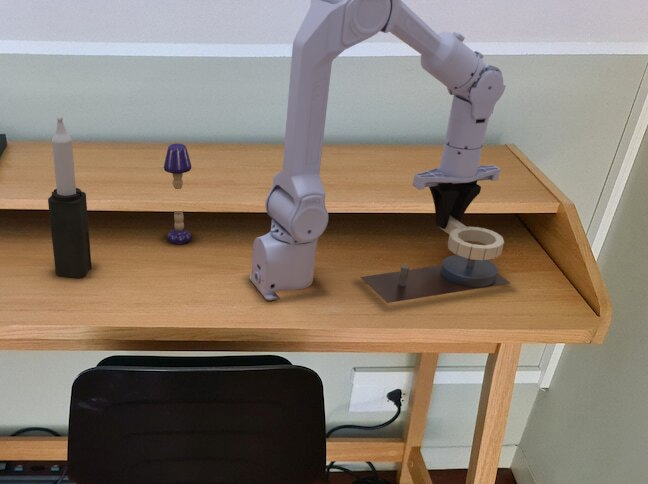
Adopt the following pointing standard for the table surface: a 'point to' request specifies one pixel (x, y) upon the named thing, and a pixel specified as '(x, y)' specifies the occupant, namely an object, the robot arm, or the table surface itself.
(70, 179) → the candle
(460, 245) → the ring
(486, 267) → the rack
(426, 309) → the table surface
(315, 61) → the robot arm
